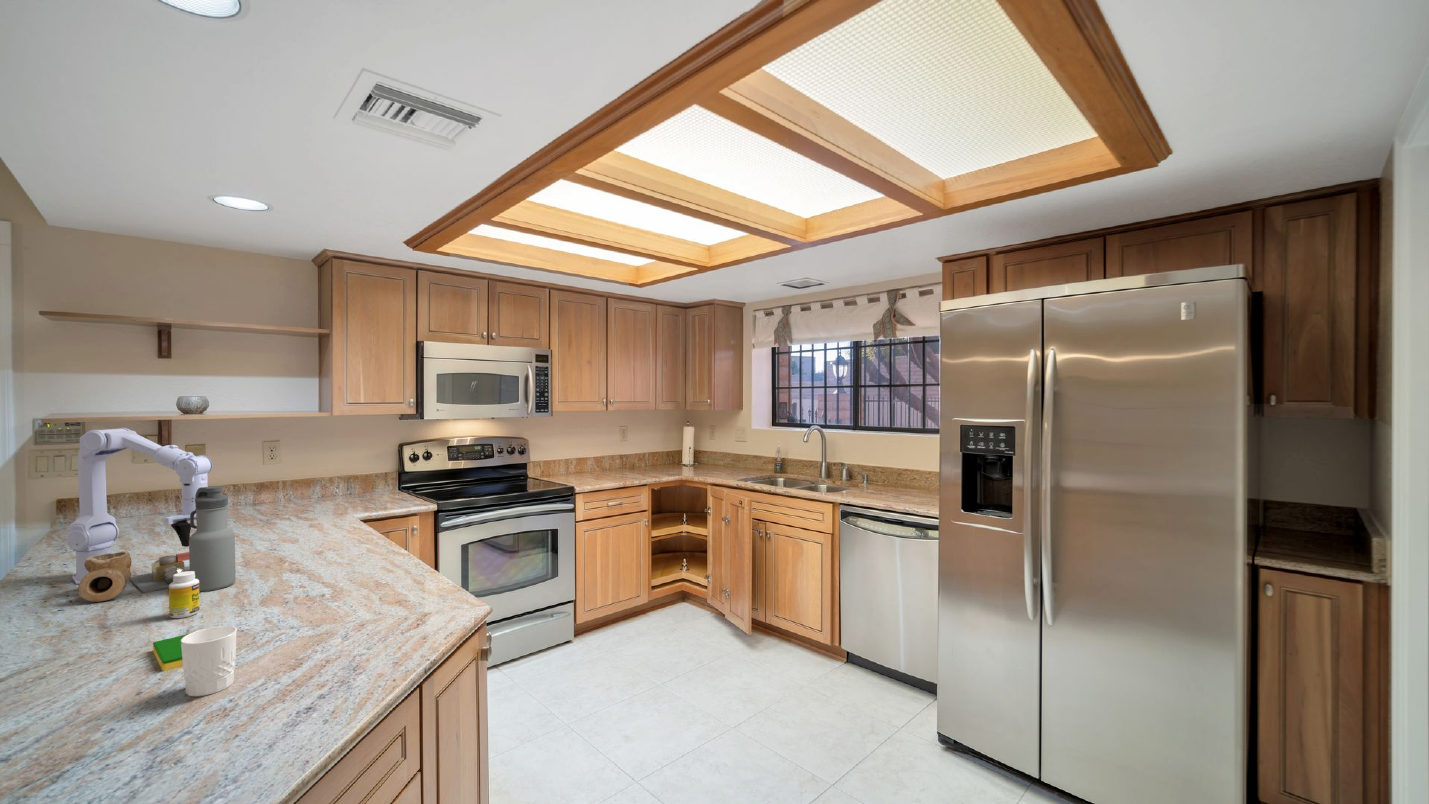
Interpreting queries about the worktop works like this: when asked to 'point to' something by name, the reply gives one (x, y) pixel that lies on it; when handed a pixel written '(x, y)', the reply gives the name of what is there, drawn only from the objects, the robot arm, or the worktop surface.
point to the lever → (174, 558)
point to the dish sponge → (169, 653)
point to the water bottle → (212, 541)
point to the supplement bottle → (184, 595)
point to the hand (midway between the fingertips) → (196, 543)
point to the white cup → (209, 660)
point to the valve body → (166, 571)
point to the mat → (150, 582)
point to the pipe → (105, 576)
